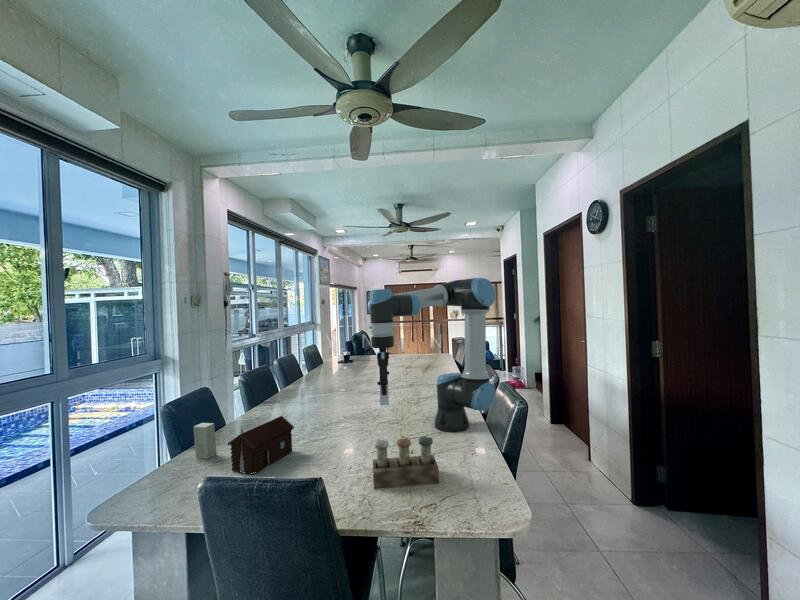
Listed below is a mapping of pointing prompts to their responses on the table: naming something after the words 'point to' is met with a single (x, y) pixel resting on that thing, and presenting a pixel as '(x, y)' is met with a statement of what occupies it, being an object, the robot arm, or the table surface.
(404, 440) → the plug terracotta
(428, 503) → the table surface
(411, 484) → the socket block
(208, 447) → the skincare box
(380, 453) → the plug cream
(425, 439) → the plug charcoal
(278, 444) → the model building
